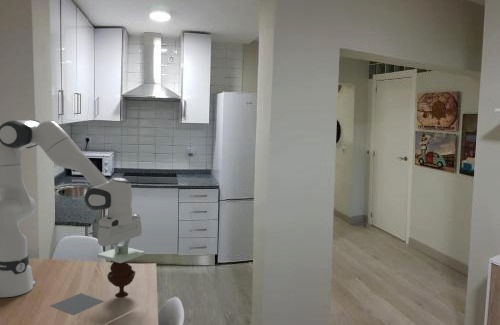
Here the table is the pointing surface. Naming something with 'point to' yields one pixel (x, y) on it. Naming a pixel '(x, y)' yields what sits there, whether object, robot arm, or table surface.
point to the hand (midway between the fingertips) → (121, 251)
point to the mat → (77, 304)
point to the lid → (121, 254)
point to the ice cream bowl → (121, 277)
